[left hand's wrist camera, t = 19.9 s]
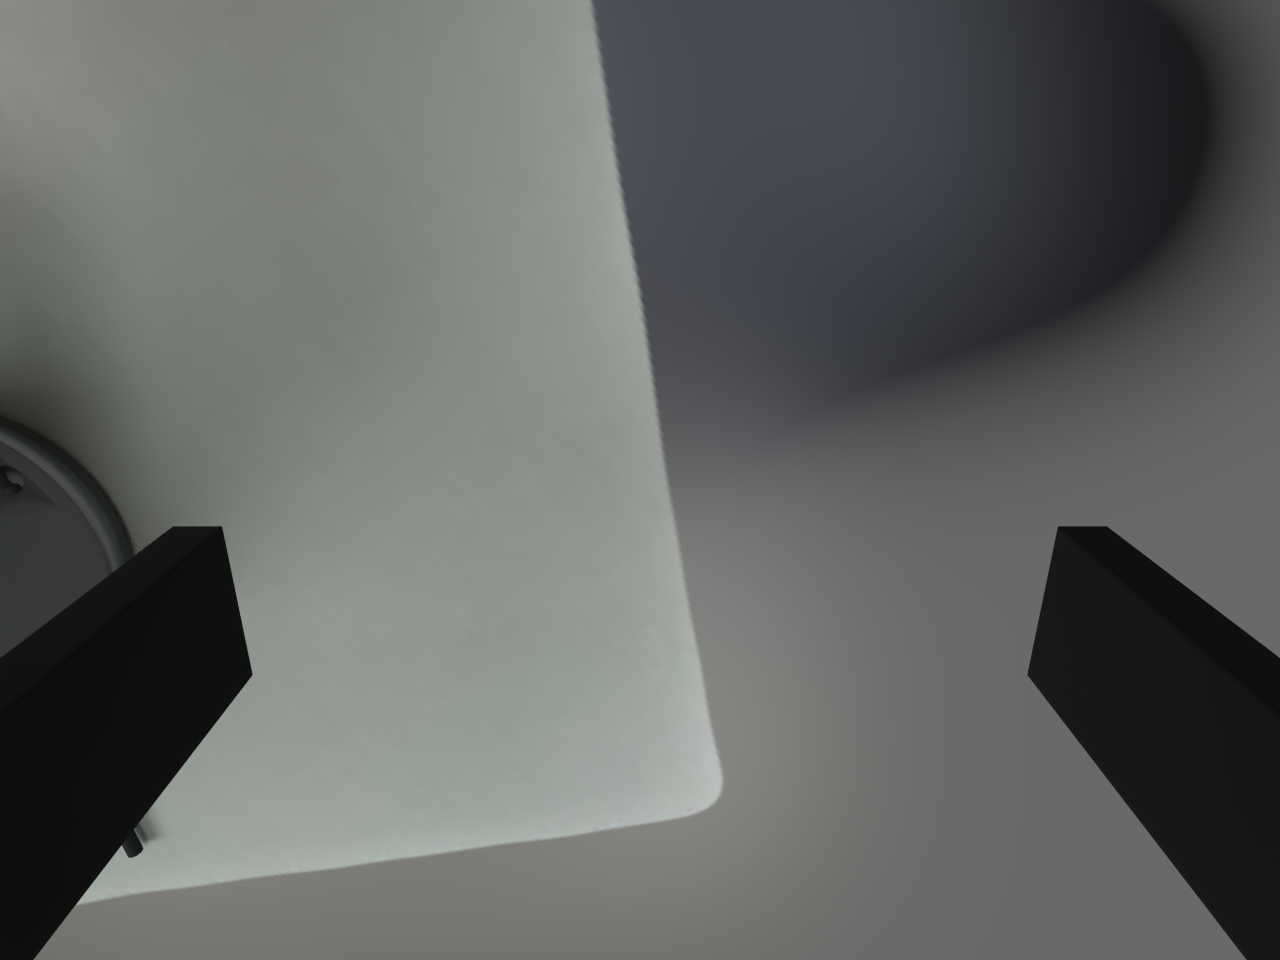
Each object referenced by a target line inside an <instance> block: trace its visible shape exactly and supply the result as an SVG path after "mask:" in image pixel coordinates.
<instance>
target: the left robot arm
mask: <svg viewBox="0 0 1280 960" xmlns="http://www.w3.org/2000/svg"><path fill="white" fill-rule="evenodd" d="M252 675H253V674H252V670H251V665H250V660H249V655H248V650H247V645H246V641H245V636H244V631H243V626H242V621H241V616H240V612H239V607H238V602H237V597H236V592H235V587H234V582H233V578H232V573H231V568H230V563H229V558H228V553H227V549H226V544H225V539H224V534H223V529H222V526H173V527H172V528H171V529H169V530H168V531H167V532H165V533H164V534H163V535H161V536H160V537H159V538H157V539H156V540H155V541H153V542H152V543H151V544H149V545H148V546H147V547H146V548H144V549H143V550H142V551H140V552H139V553H138V554H136V555H135V556H134V557H132V556H131V551H130V547H129V544H128V541H127V538H126V535H125V532H124V530H123V528H122V525H121V523H120V521H119V519H118V517H117V515H116V513H115V511H114V509H113V508H112V506H111V505H110V503H109V502H108V500H107V499H106V497H105V495H104V494H103V493H102V492H101V490H100V489H99V488H98V486H97V485H96V484H95V483H94V481H93V480H92V479H91V478H90V477H89V476H88V475H87V474H86V473H85V472H84V470H83V469H82V468H80V467H79V466H78V465H77V464H76V463H75V462H74V461H73V460H72V459H71V458H70V457H68V456H67V455H66V454H65V453H64V452H62V451H61V450H60V449H59V448H57V447H56V446H54V445H53V444H52V443H50V442H49V441H47V440H46V439H44V438H43V437H41V436H39V435H38V434H36V433H34V432H33V431H31V430H29V429H27V428H25V427H23V426H21V425H19V424H17V423H15V422H13V421H11V420H8V419H6V418H3V417H1V416H0V960H34V958H35V957H36V956H37V954H38V953H39V952H40V950H41V949H42V948H43V947H44V945H45V944H46V943H47V941H48V940H49V939H50V937H51V936H52V935H53V934H54V932H55V931H56V930H57V928H58V927H59V926H60V924H61V923H62V922H63V921H64V919H65V918H66V917H67V915H68V914H69V913H70V912H71V910H72V909H73V908H74V906H75V905H76V904H77V902H78V901H79V900H80V899H81V897H82V896H83V895H84V893H85V892H86V891H87V889H88V888H89V887H90V886H91V884H92V883H93V882H94V880H95V879H96V878H97V876H98V875H99V874H100V873H101V871H102V870H103V869H104V867H105V866H106V865H107V863H108V862H109V861H110V860H111V858H112V857H113V856H114V854H115V853H116V852H117V850H118V849H119V848H120V847H121V845H122V846H123V848H124V850H125V852H126V854H127V856H128V857H129V858H132V857H135V856H137V855H138V854H140V853H141V852H142V850H143V847H142V845H141V843H140V841H139V839H138V837H137V835H136V833H135V831H134V828H135V827H136V826H137V824H138V823H139V822H140V821H141V819H142V818H143V817H144V815H145V814H146V813H147V811H148V810H149V809H150V808H151V806H152V805H153V804H154V802H155V801H156V800H157V798H158V797H159V796H160V795H161V793H162V792H163V791H164V789H165V788H166V787H167V785H168V784H169V783H170V782H171V780H172V779H173V778H174V776H175V775H176V774H177V772H178V771H179V770H180V769H181V767H182V766H183V765H184V763H185V762H186V761H187V759H188V758H189V757H190V756H191V754H192V753H193V752H194V750H195V749H196V748H197V746H198V745H199V744H200V743H201V741H202V740H203V739H204V737H205V736H206V735H207V734H208V732H209V731H210V730H211V728H212V727H213V726H214V724H215V723H216V722H217V721H218V719H219V718H220V717H221V715H222V714H223V713H224V711H225V710H226V709H227V708H228V706H229V705H230V704H231V702H232V701H233V700H234V698H235V697H236V696H237V695H238V693H239V692H240V691H241V689H242V688H243V687H244V685H245V684H246V683H247V682H248V680H249V679H250V678H251V676H252ZM1028 676H1029V678H1030V679H1031V680H1032V682H1033V683H1034V684H1035V685H1036V687H1037V688H1038V689H1039V691H1040V692H1041V693H1042V695H1043V696H1044V697H1045V698H1046V700H1047V701H1048V702H1049V704H1050V705H1051V706H1052V707H1053V709H1054V710H1055V711H1056V713H1057V714H1058V715H1059V717H1060V718H1061V719H1062V720H1063V722H1064V723H1065V724H1066V726H1067V727H1068V728H1069V730H1070V731H1071V732H1072V734H1073V735H1074V736H1075V737H1076V739H1077V740H1078V741H1079V743H1080V744H1081V745H1082V747H1083V748H1084V749H1085V750H1086V752H1087V753H1088V754H1089V756H1090V757H1091V758H1092V759H1093V761H1094V762H1095V763H1096V765H1097V766H1098V767H1099V769H1100V770H1101V771H1102V772H1103V774H1104V775H1105V776H1106V778H1107V779H1108V780H1109V782H1110V783H1111V784H1112V785H1113V787H1114V788H1115V789H1116V791H1117V792H1118V793H1119V795H1120V796H1121V797H1122V798H1123V800H1124V801H1125V802H1126V804H1127V805H1128V806H1129V808H1130V809H1131V810H1132V811H1133V813H1134V814H1135V815H1136V817H1137V818H1138V819H1139V821H1140V822H1141V823H1142V824H1143V826H1144V827H1145V828H1146V830H1147V831H1148V832H1149V834H1150V835H1151V836H1152V837H1153V839H1154V840H1155V841H1156V843H1157V844H1158V845H1159V847H1160V848H1161V849H1162V850H1163V852H1164V853H1165V854H1166V856H1167V857H1168V858H1169V860H1170V861H1171V862H1172V863H1173V865H1174V866H1175V867H1176V869H1177V870H1178V871H1179V873H1180V874H1181V875H1182V876H1183V878H1184V879H1185V880H1186V882H1187V883H1188V884H1189V886H1190V887H1191V888H1192V889H1193V891H1194V892H1195V893H1196V895H1197V896H1198V897H1199V898H1200V900H1201V901H1202V902H1203V904H1204V905H1205V906H1206V908H1207V909H1208V910H1209V911H1210V913H1211V914H1212V915H1213V917H1214V918H1215V919H1216V921H1217V922H1218V923H1219V924H1220V926H1221V927H1222V928H1223V930H1224V931H1225V932H1226V934H1227V935H1228V936H1229V937H1230V939H1231V940H1232V941H1233V943H1234V944H1235V945H1236V947H1237V948H1238V949H1239V950H1240V952H1241V953H1242V954H1243V956H1244V957H1245V958H1246V959H1247V960H1280V658H1279V657H1278V656H1277V655H1275V654H1274V653H1273V652H1271V651H1270V650H1269V649H1267V648H1266V647H1265V646H1263V645H1262V644H1261V643H1259V642H1258V641H1257V640H1255V639H1254V638H1253V637H1251V636H1250V635H1249V634H1247V633H1246V632H1245V631H1244V630H1242V629H1241V628H1240V627H1238V626H1237V625H1236V624H1234V623H1233V622H1232V621H1231V620H1229V619H1228V618H1226V617H1225V616H1224V615H1223V614H1221V613H1220V612H1219V611H1217V610H1216V609H1215V608H1213V607H1212V606H1211V605H1209V604H1208V603H1207V602H1206V601H1204V600H1203V599H1202V598H1200V597H1199V596H1197V595H1196V594H1195V593H1194V592H1192V591H1191V590H1190V589H1188V588H1187V587H1186V586H1184V585H1183V584H1182V583H1181V582H1179V581H1178V580H1177V579H1175V578H1174V577H1173V576H1171V575H1170V574H1169V573H1167V572H1166V571H1165V570H1163V569H1162V568H1161V567H1159V566H1158V565H1157V564H1156V563H1154V562H1153V561H1152V560H1150V559H1149V558H1148V557H1146V556H1145V555H1144V554H1142V553H1141V552H1140V551H1138V550H1137V549H1136V548H1134V547H1133V546H1132V545H1131V544H1129V543H1128V542H1127V541H1125V540H1124V539H1123V538H1121V537H1120V536H1119V535H1117V534H1116V533H1115V532H1113V531H1112V530H1111V529H1109V528H1108V527H1106V526H1099V527H1098V526H1097V527H1095V526H1093V527H1092V526H1087V527H1086V526H1084V527H1083V526H1081V527H1079V526H1078V527H1077V526H1075V527H1073V526H1069V527H1068V526H1067V527H1065V526H1061V527H1060V526H1059V527H1058V529H1057V534H1056V539H1055V544H1054V549H1053V553H1052V558H1051V563H1050V568H1049V573H1048V578H1047V582H1046V587H1045V592H1044V597H1043V602H1042V607H1041V612H1040V616H1039V621H1038V626H1037V631H1036V636H1035V641H1034V646H1033V650H1032V655H1031V660H1030V665H1029V670H1028Z"/></svg>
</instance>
